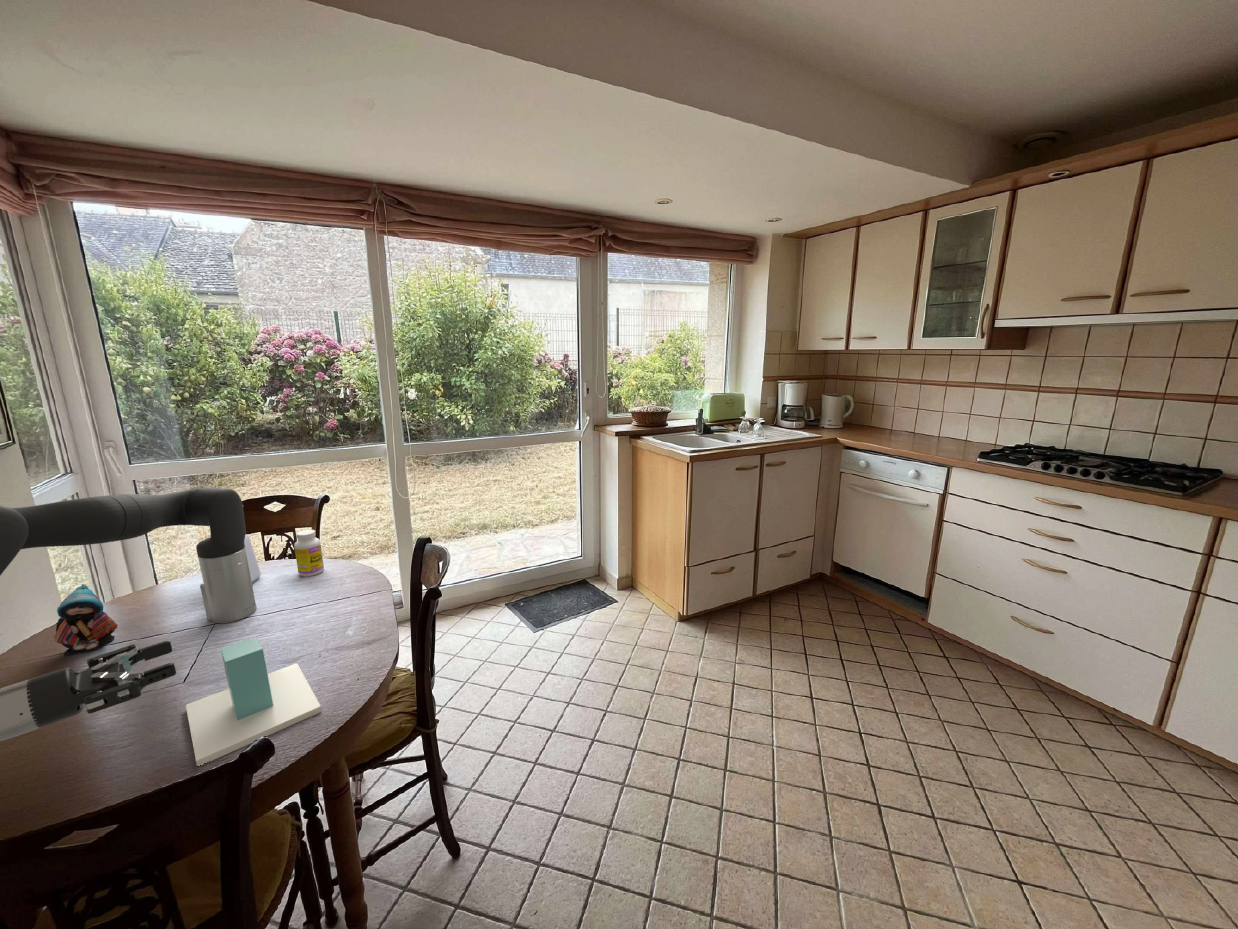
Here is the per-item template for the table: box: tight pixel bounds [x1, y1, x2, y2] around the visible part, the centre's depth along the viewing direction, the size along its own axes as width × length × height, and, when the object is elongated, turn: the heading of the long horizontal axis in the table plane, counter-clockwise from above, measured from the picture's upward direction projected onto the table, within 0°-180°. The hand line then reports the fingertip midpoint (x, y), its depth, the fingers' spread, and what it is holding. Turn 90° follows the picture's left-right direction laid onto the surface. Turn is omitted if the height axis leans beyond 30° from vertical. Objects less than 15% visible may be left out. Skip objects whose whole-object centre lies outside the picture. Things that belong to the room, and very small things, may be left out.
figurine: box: [53, 583, 118, 656], centre depth 110 cm, size 10×7×15 cm
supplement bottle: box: [293, 529, 325, 577], centre depth 148 cm, size 7×7×13 cm
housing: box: [220, 636, 273, 720], centre depth 91 cm, size 5×5×12 cm
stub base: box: [185, 662, 323, 767], centre depth 92 cm, size 18×18×6 cm
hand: (173, 656), depth 86 cm, fingers open, 8 cm apart
